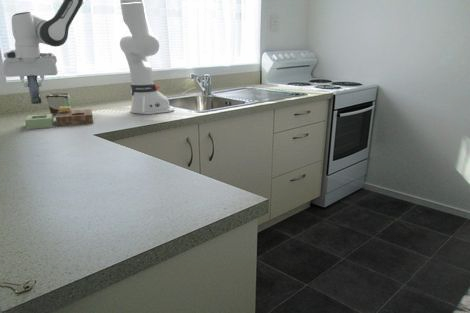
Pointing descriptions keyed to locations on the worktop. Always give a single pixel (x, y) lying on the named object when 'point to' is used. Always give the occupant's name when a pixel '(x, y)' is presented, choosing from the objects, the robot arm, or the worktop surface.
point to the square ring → (39, 121)
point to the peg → (34, 89)
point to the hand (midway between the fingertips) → (33, 86)
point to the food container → (57, 101)
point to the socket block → (74, 117)
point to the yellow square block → (64, 108)
